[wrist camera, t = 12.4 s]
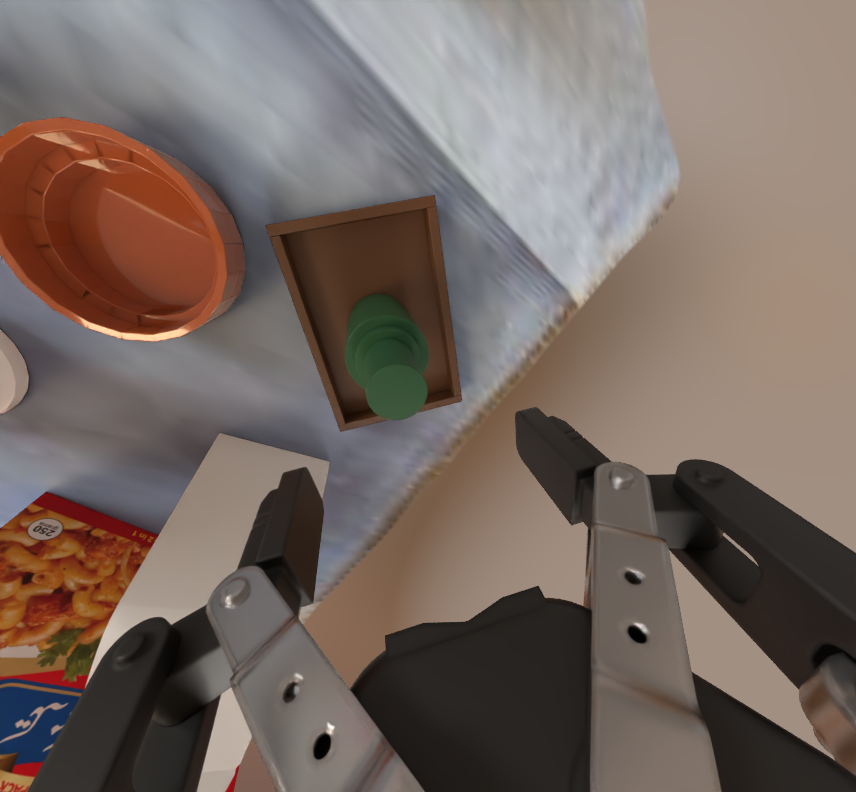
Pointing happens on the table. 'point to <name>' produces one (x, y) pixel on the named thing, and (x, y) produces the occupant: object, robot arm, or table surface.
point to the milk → (208, 566)
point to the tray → (369, 291)
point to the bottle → (387, 356)
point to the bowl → (115, 231)
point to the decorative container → (11, 375)
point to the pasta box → (55, 620)
